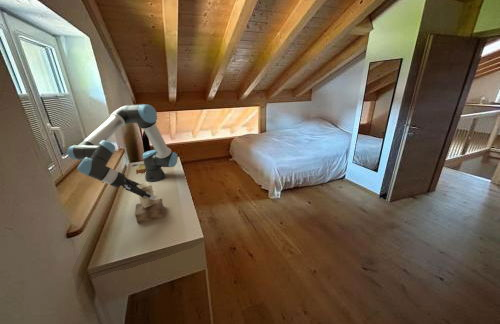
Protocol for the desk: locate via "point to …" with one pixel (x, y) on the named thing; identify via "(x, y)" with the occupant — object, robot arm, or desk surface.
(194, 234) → the desk surface
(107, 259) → the desk surface
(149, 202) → the oak block
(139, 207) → the walnut box
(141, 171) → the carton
